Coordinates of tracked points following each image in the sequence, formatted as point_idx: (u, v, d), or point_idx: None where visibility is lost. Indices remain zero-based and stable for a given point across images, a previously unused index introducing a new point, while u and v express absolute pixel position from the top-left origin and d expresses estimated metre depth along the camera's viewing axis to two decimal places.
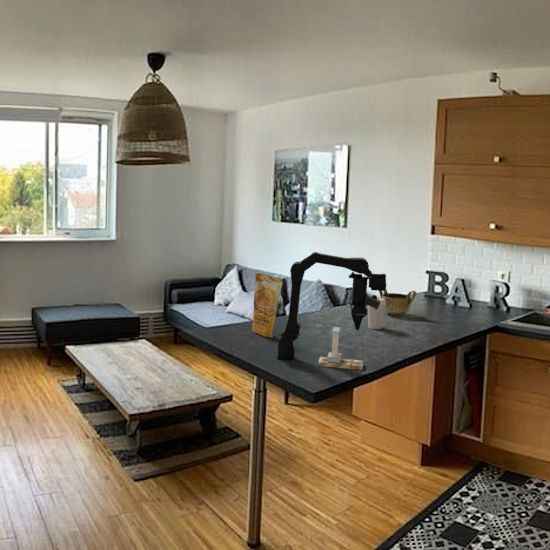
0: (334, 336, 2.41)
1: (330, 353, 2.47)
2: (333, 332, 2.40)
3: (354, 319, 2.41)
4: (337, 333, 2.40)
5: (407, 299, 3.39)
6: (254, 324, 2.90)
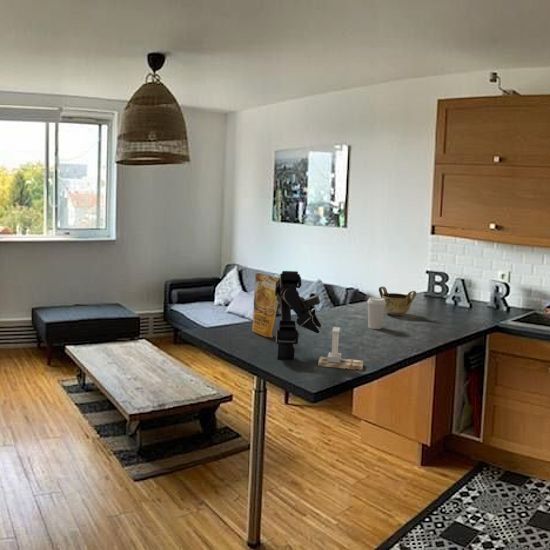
0: (334, 336, 2.41)
1: (330, 353, 2.47)
2: (333, 332, 2.40)
3: (307, 327, 2.39)
4: (337, 333, 2.40)
5: (407, 299, 3.39)
6: (254, 324, 2.90)
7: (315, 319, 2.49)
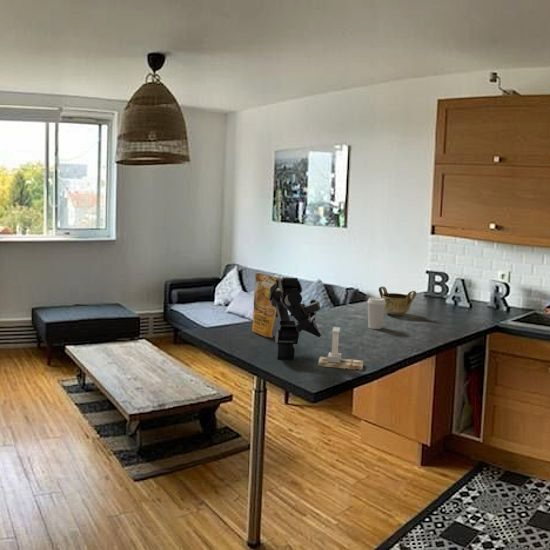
0: (334, 336, 2.41)
1: (330, 353, 2.47)
2: (333, 332, 2.40)
3: (309, 331, 2.44)
4: (337, 333, 2.40)
5: (407, 299, 3.39)
6: (254, 324, 2.90)
7: None
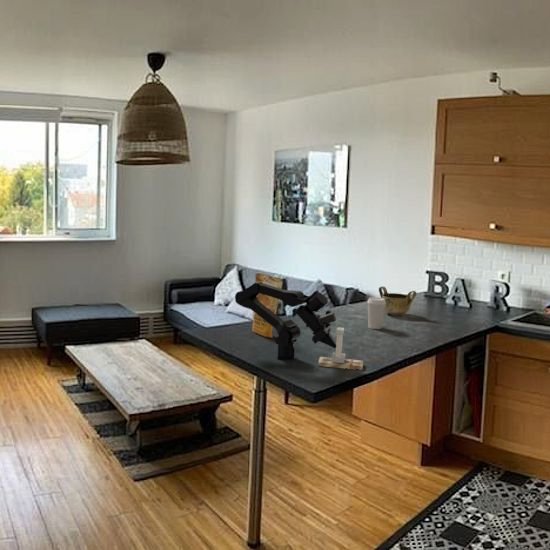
0: (338, 336, 2.41)
1: (334, 353, 2.47)
2: (337, 332, 2.40)
3: (324, 342, 2.43)
4: (341, 333, 2.40)
5: (407, 299, 3.39)
6: (254, 324, 2.90)
7: None
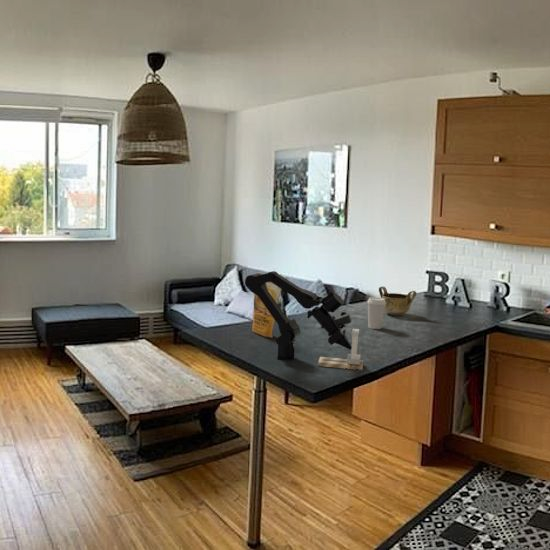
0: (354, 338, 2.40)
1: (349, 355, 2.46)
2: (353, 334, 2.39)
3: (340, 343, 2.42)
4: (357, 335, 2.39)
5: (407, 299, 3.39)
6: (254, 324, 2.90)
7: None
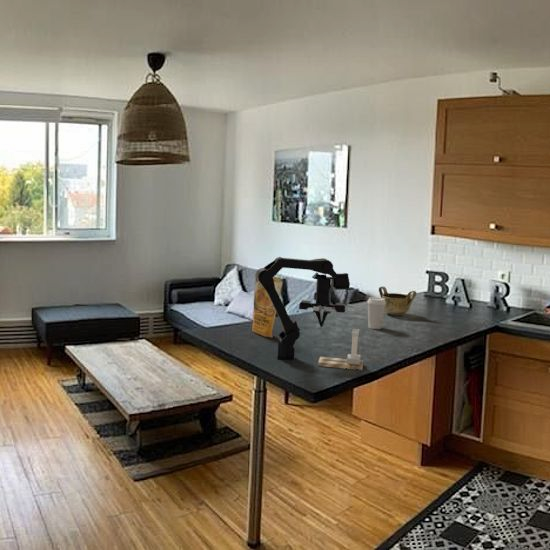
0: (354, 338, 2.40)
1: (349, 355, 2.46)
2: (353, 334, 2.39)
3: (325, 317, 2.50)
4: (357, 335, 2.39)
5: (407, 299, 3.39)
6: (254, 324, 2.90)
7: (321, 317, 2.52)
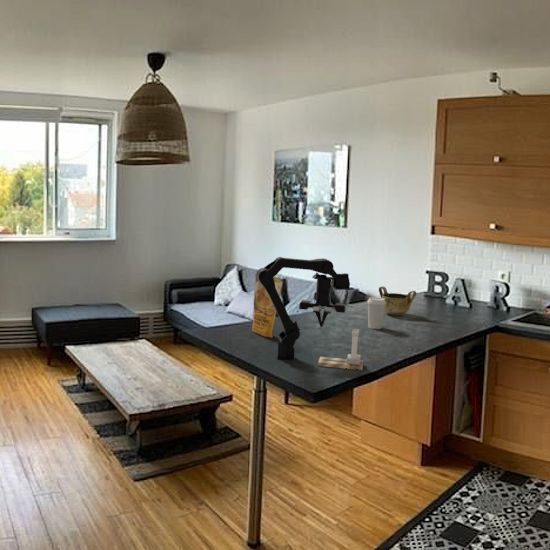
0: (354, 338, 2.40)
1: (349, 355, 2.46)
2: (353, 334, 2.39)
3: (325, 317, 2.50)
4: (357, 335, 2.39)
5: (407, 299, 3.39)
6: (254, 324, 2.90)
7: (321, 317, 2.53)
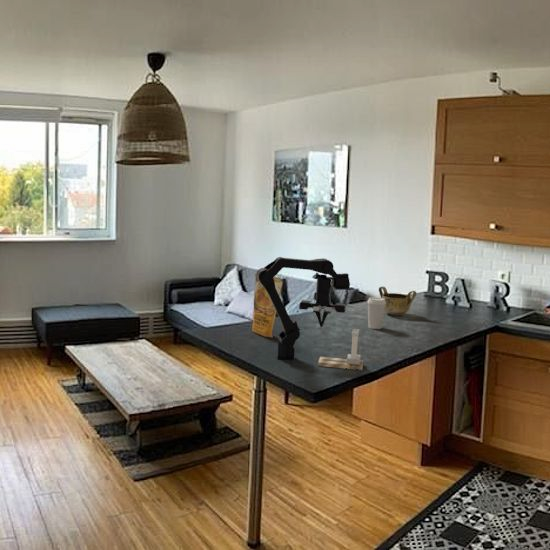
0: (354, 338, 2.40)
1: (349, 355, 2.46)
2: (353, 334, 2.39)
3: (325, 317, 2.50)
4: (357, 335, 2.39)
5: (407, 299, 3.39)
6: (254, 324, 2.90)
7: (321, 317, 2.53)
